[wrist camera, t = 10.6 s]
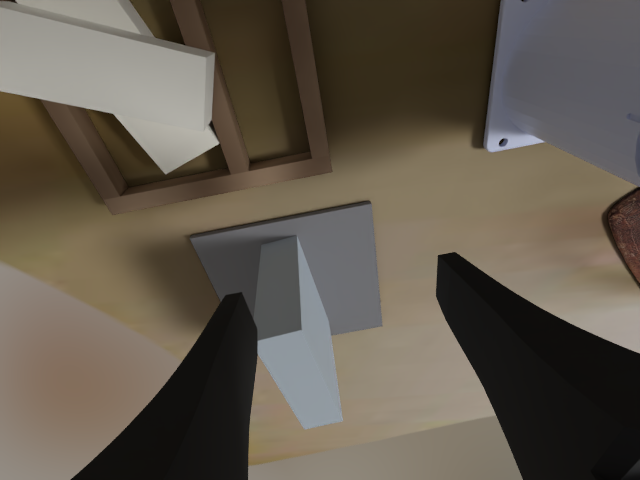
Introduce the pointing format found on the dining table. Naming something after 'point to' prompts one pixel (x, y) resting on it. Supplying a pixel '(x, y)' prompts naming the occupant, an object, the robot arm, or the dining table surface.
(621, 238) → the wooden tablet
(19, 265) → the dining table surface
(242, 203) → the dining table surface
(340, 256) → the grey mat
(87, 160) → the offcut rack
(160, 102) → the upper offcut
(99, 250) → the dining table surface
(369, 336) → the dining table surface
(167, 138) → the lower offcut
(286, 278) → the pale grey rectangular block
